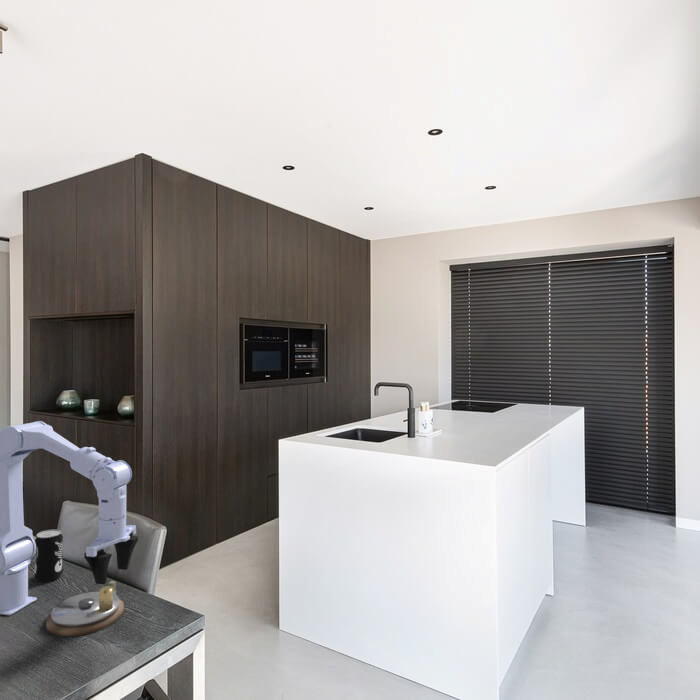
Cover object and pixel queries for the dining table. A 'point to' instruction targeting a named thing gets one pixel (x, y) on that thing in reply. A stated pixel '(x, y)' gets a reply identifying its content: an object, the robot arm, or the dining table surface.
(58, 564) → the beverage can
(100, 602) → the handwheel
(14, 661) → the dining table surface
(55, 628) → the wheel base
